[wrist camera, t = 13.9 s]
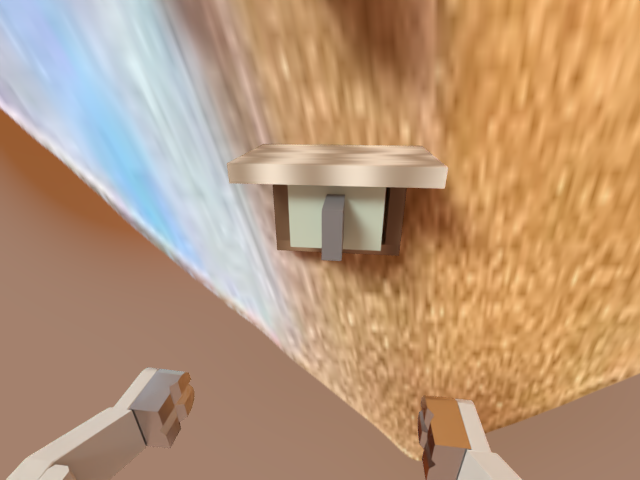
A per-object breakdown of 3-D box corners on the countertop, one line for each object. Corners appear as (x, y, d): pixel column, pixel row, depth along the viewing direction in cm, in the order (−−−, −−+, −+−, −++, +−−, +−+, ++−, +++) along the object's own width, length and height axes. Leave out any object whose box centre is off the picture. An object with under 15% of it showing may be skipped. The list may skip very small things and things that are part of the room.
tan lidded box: (421, 146, 31) (448, 167, 22) (409, 243, 35) (426, 295, 26) (263, 144, 32) (226, 163, 23) (270, 237, 37) (242, 284, 28)
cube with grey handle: (380, 163, 32) (391, 198, 21) (375, 218, 35) (383, 274, 24) (302, 162, 33) (275, 195, 22) (304, 215, 35) (280, 269, 25)
